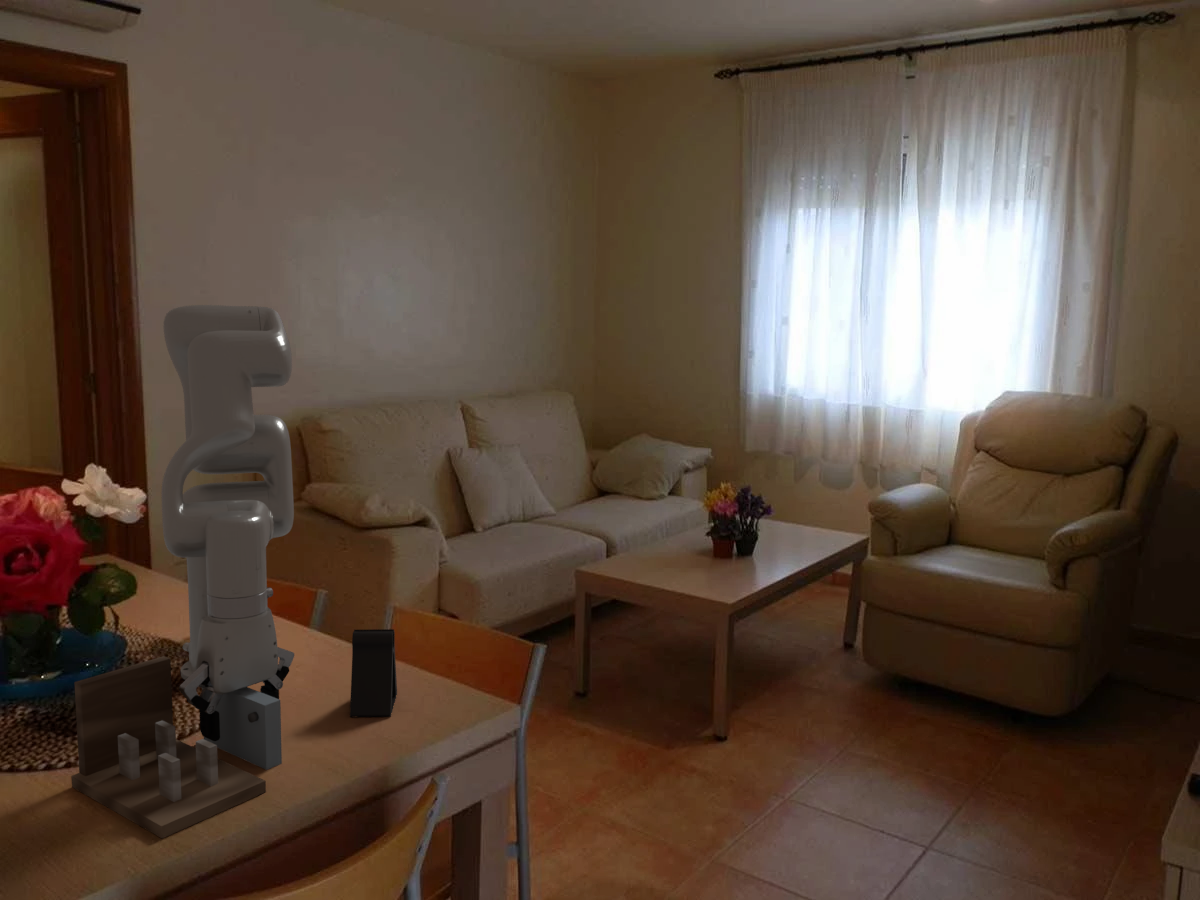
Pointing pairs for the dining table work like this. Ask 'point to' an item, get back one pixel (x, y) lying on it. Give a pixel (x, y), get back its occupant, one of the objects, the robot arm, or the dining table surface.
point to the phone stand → (373, 673)
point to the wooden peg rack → (149, 753)
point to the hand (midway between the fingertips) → (241, 726)
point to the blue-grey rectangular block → (250, 727)
